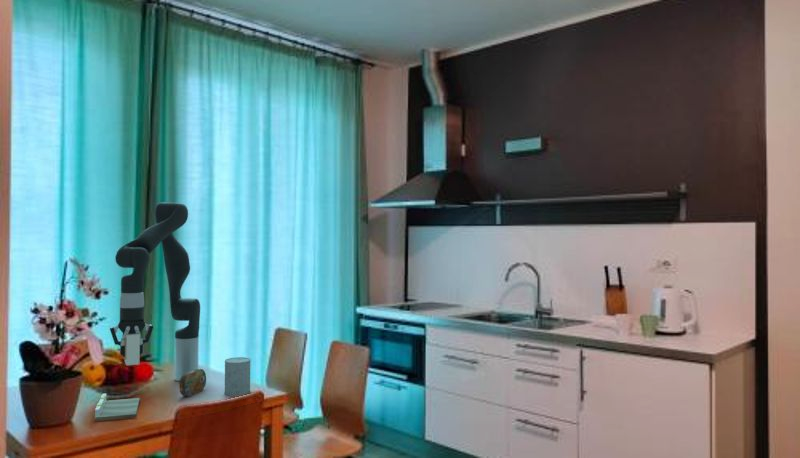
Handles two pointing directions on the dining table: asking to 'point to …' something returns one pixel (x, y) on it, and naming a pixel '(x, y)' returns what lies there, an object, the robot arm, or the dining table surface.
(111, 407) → the shelf board
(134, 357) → the carton
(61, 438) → the dining table surface
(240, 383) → the grey stone cylinder
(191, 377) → the tin
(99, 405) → the rail
